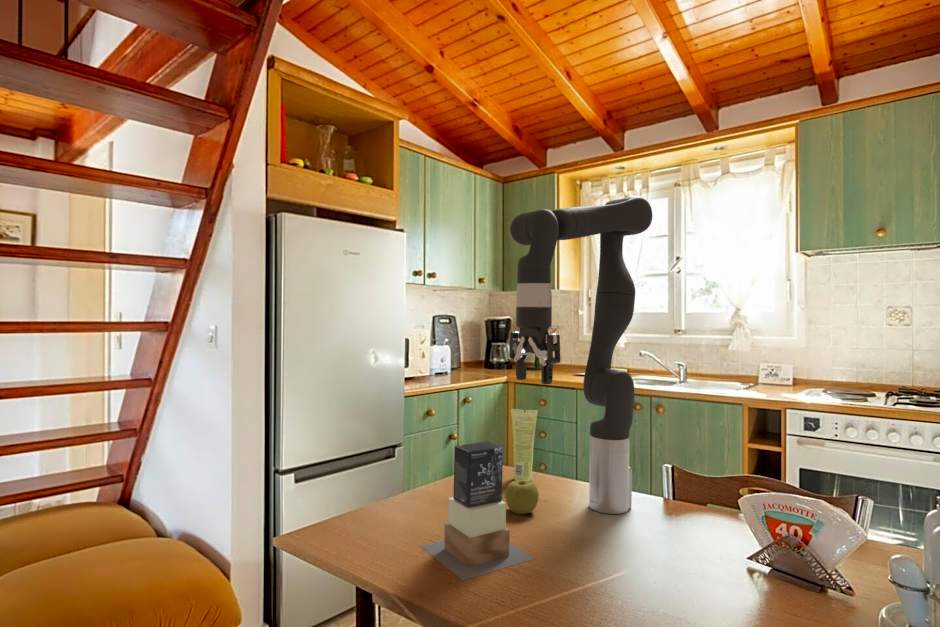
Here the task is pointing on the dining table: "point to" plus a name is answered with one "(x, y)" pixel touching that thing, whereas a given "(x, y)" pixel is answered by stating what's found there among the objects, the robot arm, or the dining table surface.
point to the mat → (467, 572)
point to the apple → (521, 496)
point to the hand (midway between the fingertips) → (533, 381)
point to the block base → (476, 546)
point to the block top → (477, 517)
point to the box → (478, 473)
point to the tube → (523, 442)
